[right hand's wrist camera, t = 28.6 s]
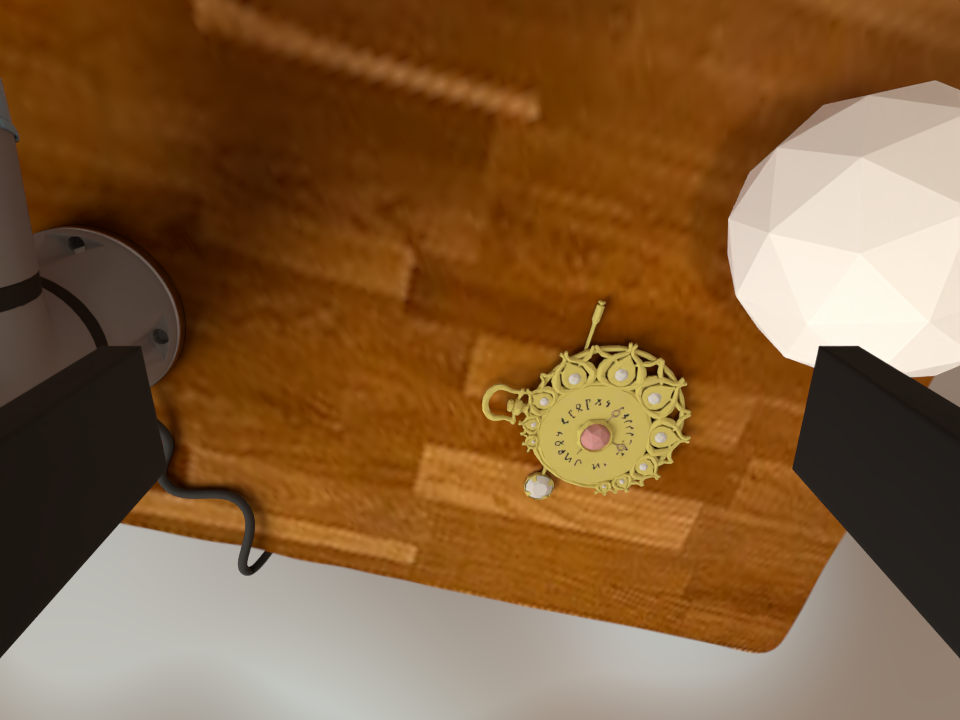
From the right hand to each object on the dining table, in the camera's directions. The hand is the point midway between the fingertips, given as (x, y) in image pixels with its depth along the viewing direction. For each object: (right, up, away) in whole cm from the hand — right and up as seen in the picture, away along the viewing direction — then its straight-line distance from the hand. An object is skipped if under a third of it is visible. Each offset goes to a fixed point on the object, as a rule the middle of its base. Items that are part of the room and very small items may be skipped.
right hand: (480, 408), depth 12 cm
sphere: (+27, +13, +39) cm, 49 cm away
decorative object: (+10, -4, +45) cm, 46 cm away
